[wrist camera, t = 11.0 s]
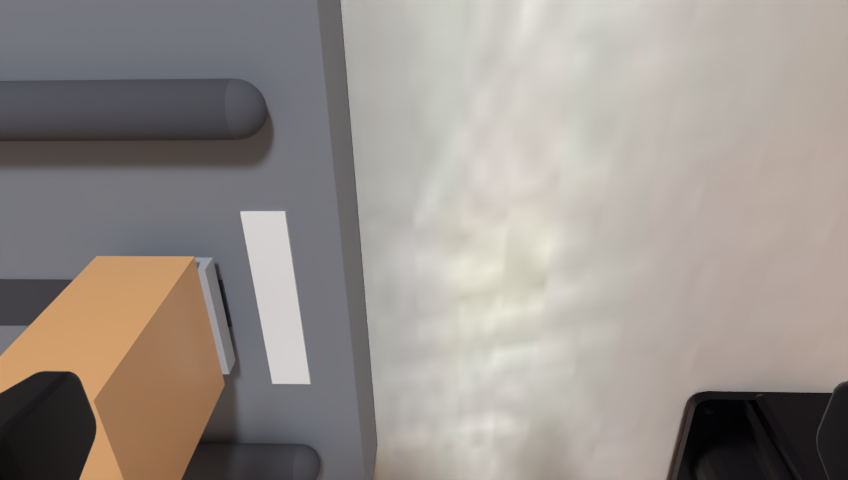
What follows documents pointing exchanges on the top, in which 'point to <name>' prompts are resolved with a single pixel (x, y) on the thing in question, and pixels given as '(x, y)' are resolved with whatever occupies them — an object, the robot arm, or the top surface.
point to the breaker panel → (209, 202)
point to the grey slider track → (158, 121)
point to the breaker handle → (135, 358)
